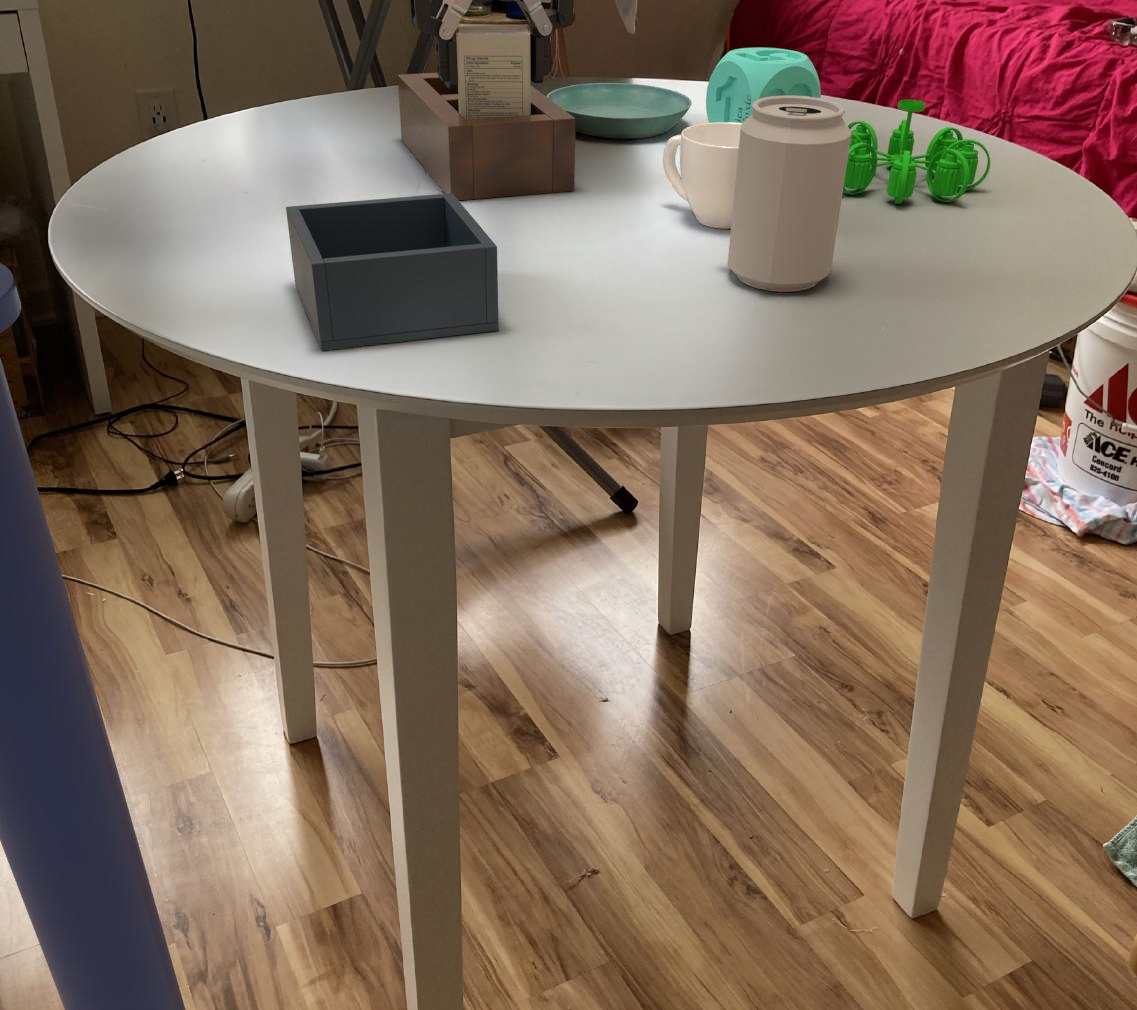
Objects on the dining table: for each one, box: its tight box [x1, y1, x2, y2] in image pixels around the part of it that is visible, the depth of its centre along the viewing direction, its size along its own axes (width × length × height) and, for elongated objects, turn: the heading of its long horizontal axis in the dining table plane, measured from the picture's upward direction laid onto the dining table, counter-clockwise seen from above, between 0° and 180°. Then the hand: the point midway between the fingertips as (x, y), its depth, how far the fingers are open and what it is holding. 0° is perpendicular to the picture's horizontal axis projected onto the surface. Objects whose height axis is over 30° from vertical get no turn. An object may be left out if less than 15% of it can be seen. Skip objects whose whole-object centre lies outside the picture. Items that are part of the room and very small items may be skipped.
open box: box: [285, 193, 500, 351], centre depth 79 cm, size 12×12×6 cm
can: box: [726, 95, 852, 293], centre depth 83 cm, size 8×8×12 cm
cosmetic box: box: [455, 23, 531, 120], centre depth 102 cm, size 6×4×12 cm
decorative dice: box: [705, 47, 822, 123], centre depth 114 cm, size 8×8×8 cm
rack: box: [397, 72, 576, 201], centre depth 107 cm, size 11×20×6 cm, turn 19°
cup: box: [662, 122, 742, 230], centre depth 95 cm, size 8×10×7 cm
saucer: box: [546, 82, 693, 140], centre depth 120 cm, size 15×15×3 cm
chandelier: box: [843, 99, 991, 205], centre depth 103 cm, size 15×15×7 cm
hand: (493, 83), depth 101 cm, fingers closed on cosmetic box, 7 cm apart
